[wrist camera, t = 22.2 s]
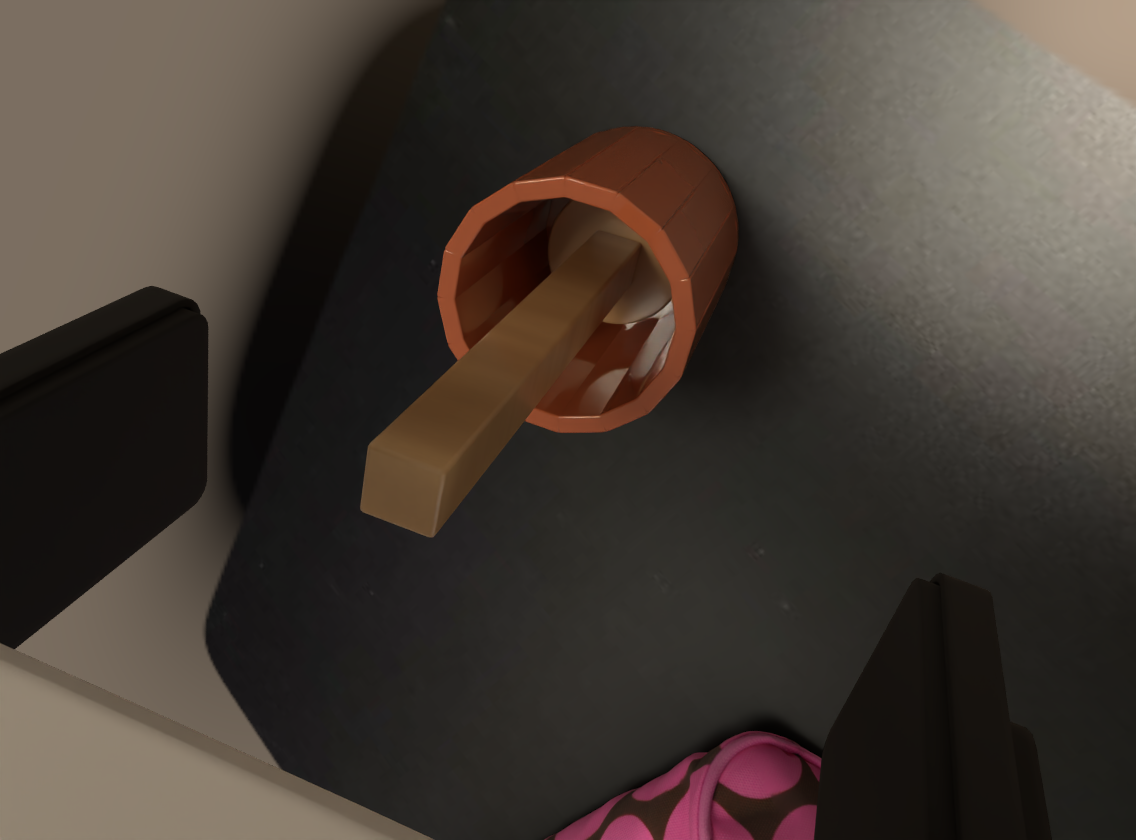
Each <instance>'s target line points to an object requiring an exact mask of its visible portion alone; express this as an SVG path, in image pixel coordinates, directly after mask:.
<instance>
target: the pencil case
mask: <svg viewBox="0 0 1136 840" xmlns="http://www.w3.org/2000/svg"><path fill="white" fill-rule="evenodd" d="M820 768H821V758H820V757H818V756H817V755H815V754H813V753H811V752H810V751H808V750H806V749H805V748H802V747H801V746H800V745H799V744H797V743H796V742H794V741H792V740H790V739H788V738H785V737H782V736H779V735H776V734H773V733H768V732H762V731H747V732H743V733H741V734H738V735H735V736H733V737H731V738H729V739H727V740H725V741H724V742H723V743H721V744H720V745H719V746H717V747H715V748H714V749H712V750H711V751H709V752H699V753H694V754H692V755H690V756H688V757H686V758H685V759H684V760H682V761H681V762H680V763H678V764H677V765H676V766H675V767H673V768H672V769H671V770H670V771H669V772H667V773H665V774H663V775H661V776H659V777H657V778H655V779H653V780H651V781H650V782H648V783H646V784H645V785H643V786H642V787H640V788H636V789H633V790H630V791H627V792H625V793H623V794H620V795H618V796H616V797H615V798H613V799H611V800H610V801H608V802H607V803H605V804H604V805H603V806H602V807H600V808H598V809H596V810H595V811H593V812H591V813H590V814H588V815H586V816H585V817H583V818H581V819H579V820H577V821H576V822H574V823H572V824H571V825H569V826H568V827H566V828H565V829H563V830H562V831H560V832H558V833H556V834H554V835H552V836H549V837H548V838H546V839H544V840H814V832H815V821H816V811H817V800H818V789H819V779H820Z"/></svg>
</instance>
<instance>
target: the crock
mask: <svg viewBox="0 0 1136 840" xmlns="http://www.w3.org/2000/svg"><path fill="white" fill-rule="evenodd" d="M571 199H572V200H575V201H578V202H581V203H585V204H588V205H591V206H594V207H597V208H601V209H604V210H607V211H610V212H611V213H612V214H614V215H615V216H616V217H617V218H619V219H620V220H621V221H622V222H623V223H625V224H626V225H627V226H628V227H630V228H631V229H632V230H633V231H634V232H636V233H637V234H638V235H639V236H641V237H642V238H643V239H644V240H645V241H647V243H648V244H649V246H650V248H651V250H652V252H653V253H654V255H655V257H656V259H657V261H658V262H659V264H660V266H661V268H662V270H663V271H664V273H665V275H666V277H667V279H668V280H669V282H670V287H671V296H672V300H671V301H670V302H669V303H668V304H667V305H666V306H665V307H664V308H663V309H662V310H661V311H659V312H658V313H657V314H655V315H653V316H652V317H650V318H647V319H645V320H643V321H639V322H635V323H630V324H612V323H606V322H601V324H600V325H599V326H598V327H597V329H596V330H595V331H594V332H593V334H592V335H591V336H590V338H589V339H588V340H587V341H586V343H585V344H584V345H583V347H582V348H581V349H580V350H579V352H578V353H577V354H576V356H575V357H574V358H573V359H572V361H571V362H570V363H569V364H568V366H567V367H566V368H565V370H564V371H563V372H562V373H561V375H560V376H559V377H558V379H557V380H556V381H555V382H554V384H553V385H552V386H551V388H550V389H549V390H548V391H547V393H546V394H545V395H544V396H543V398H542V399H541V400H540V402H539V403H538V404H537V405H536V407H535V408H534V409H533V411H532V412H531V413H530V414H529V416H528V417H527V418H526V420H525V421H526V422H529V423H532V424H535V425H538V426H540V427H543V428H546V429H549V430H552V431H554V432H559V433H583V432H605V431H610V430H612V429H615V428H617V427H619V426H621V425H624V424H626V423H628V422H631V421H633V420H635V419H638V418H640V417H642V416H645V415H647V414H648V413H649V412H651V411H652V410H653V409H654V408H655V407H656V406H657V404H658V403H659V402H660V401H661V400H662V399H663V398H664V397H665V396H666V395H667V394H668V392H669V391H670V390H671V389H672V388H673V387H674V386H675V385H676V384H677V383H678V381H679V380H680V379H681V377H682V375H683V373H684V371H685V369H686V367H687V365H688V363H689V361H690V359H691V357H692V355H693V352H694V350H695V348H696V346H697V344H698V342H699V340H700V338H701V336H702V334H703V332H704V330H705V328H706V325H707V323H708V321H709V319H710V317H711V315H712V313H713V311H714V309H715V307H716V305H717V303H718V301H719V299H720V296H721V294H722V292H723V290H724V288H725V286H726V283H727V280H728V277H729V274H730V271H731V269H732V267H733V264H734V260H735V256H736V253H737V248H738V237H739V236H738V219H737V212H736V207H735V204H734V201H733V197H732V195H731V192H730V190H729V188H728V186H727V183H726V182H725V180H724V178H723V177H722V175H721V173H720V172H719V170H718V169H717V168H716V167H715V165H714V164H713V163H712V162H711V161H710V159H708V158H707V157H706V156H705V155H704V154H703V153H702V152H701V151H700V150H699V149H697V148H696V147H695V146H693V145H692V144H690V143H689V142H687V141H686V140H684V139H682V138H680V137H678V136H676V135H674V134H671V133H668V132H666V131H663V130H659V129H654V128H650V127H638V126H630V127H619V128H614V129H609V130H606V131H603V132H598V133H595V134H593V135H591V136H589V137H588V138H586V139H584V140H583V141H581V142H579V143H578V144H576V145H574V146H572V147H571V148H569V149H567V150H566V151H564V152H562V153H561V154H559V155H557V156H555V157H554V158H552V159H550V160H549V161H547V162H545V163H544V164H542V165H540V166H538V167H537V168H535V169H533V170H532V171H530V172H528V173H527V174H525V175H523V176H521V177H520V178H518V179H516V180H515V181H513V182H511V183H510V184H508V185H506V186H505V187H503V188H502V189H500V190H498V191H497V192H495V193H494V194H492V195H490V196H489V197H487V198H485V199H484V200H482V201H481V202H479V203H477V204H476V205H474V206H473V207H472V208H471V209H470V210H469V211H468V213H467V214H466V216H465V217H464V219H463V220H462V222H461V224H460V225H459V227H458V228H457V230H456V231H455V233H454V234H453V236H452V238H451V239H450V241H449V242H448V244H447V245H446V248H445V250H444V255H443V262H442V268H441V274H440V281H439V287H438V294H437V295H438V303H439V307H440V312H441V316H442V321H443V325H444V330H445V334H446V338H447V342H448V344H449V347H450V349H451V350H452V352H453V354H454V355H455V357H456V358H457V360H460V359H461V358H462V357H463V356H464V355H465V354H466V353H467V352H468V351H469V350H470V349H471V348H472V347H473V346H474V345H476V344H477V343H478V342H479V341H480V340H481V339H482V338H483V337H484V336H485V335H486V334H487V333H488V332H489V331H490V330H492V329H493V328H494V327H495V326H496V325H497V324H498V323H499V322H500V321H501V320H502V319H503V318H504V317H505V316H506V315H508V314H509V313H510V312H511V311H512V310H513V309H514V308H515V307H516V306H517V305H518V304H519V303H520V302H521V301H523V300H524V299H525V298H526V297H527V296H528V295H529V294H530V293H531V292H532V291H533V290H534V289H535V288H536V287H537V286H539V285H540V284H541V283H542V282H543V281H544V280H545V279H546V278H547V277H548V276H549V275H550V274H551V270H550V266H549V261H548V240H549V235H550V231H551V228H552V225H553V223H554V221H555V219H556V217H557V216H558V214H559V212H560V211H561V210H562V209H563V207H564V206H565V205H566V204H567V203H568V202H569V201H570V200H571Z"/></svg>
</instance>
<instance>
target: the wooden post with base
mask: <svg viewBox="0 0 1136 840" xmlns="http://www.w3.org/2000/svg"><path fill="white" fill-rule="evenodd" d="M548 261H549V266H550V270H551V274H550V275H549V276H548V277H547V278H546V279H545V280H544V281H543V282H542V283H541V284H540V285H539V286H537V287H536V288H535V289H534V290H533V291H532V292H531V293H530V294H529V295H528V296H527V297H526V298H525V299H524V300H523V301H521V302H520V303H519V304H518V305H517V306H516V307H515V308H514V309H513V310H512V311H511V312H510V313H509V314H508V315H506V316H505V317H504V318H503V319H502V320H501V321H500V322H499V323H498V324H497V325H496V326H495V327H494V328H493V329H492V330H490V331H489V332H488V333H487V334H486V335H485V336H484V337H483V338H482V339H481V340H480V341H479V342H478V343H477V344H476V345H474V346H473V347H472V348H471V349H470V350H469V351H468V352H467V353H466V354H465V355H464V356H463V357H462V358H461V359H460V360H458V361H457V362H456V363H455V364H454V365H453V366H452V367H451V368H450V369H449V370H448V371H447V372H446V373H445V374H443V375H442V376H441V377H440V378H439V379H438V380H437V381H436V382H435V383H434V384H433V385H432V386H431V387H430V388H429V389H427V390H426V391H425V392H424V393H423V394H422V395H421V396H420V397H419V398H418V399H417V400H416V401H415V402H414V403H413V404H411V405H410V406H409V407H408V408H407V409H406V410H405V411H404V412H403V413H402V414H401V415H400V416H399V417H398V418H397V419H395V420H394V421H393V422H392V423H391V424H390V425H389V426H388V427H387V428H386V429H385V430H384V431H383V432H382V433H380V434H379V435H378V436H377V437H376V438H375V439H374V440H373V441H372V442H371V443H370V444H369V446H368V452H367V460H366V467H365V475H364V483H363V491H362V499H361V507H360V508H361V510H362V511H363V512H364V513H367V514H369V515H372V516H375V517H377V518H380V519H382V520H385V521H388V522H390V523H393V524H396V525H398V526H401V527H403V528H406V529H409V530H411V531H414V532H416V533H419V534H422V535H424V536H427V537H434V536H435V535H436V533H437V532H438V531H439V530H440V528H441V527H442V526H443V524H444V523H445V522H446V521H447V519H448V518H449V517H450V516H451V514H452V513H453V512H454V510H455V509H456V508H457V507H458V505H459V504H460V503H461V501H462V500H463V499H464V498H465V496H466V495H467V494H468V492H469V491H470V490H471V489H472V487H473V486H474V485H475V484H476V482H477V481H478V480H479V478H480V477H481V476H482V475H483V473H484V472H485V471H486V469H487V468H488V467H489V466H490V464H491V463H492V462H493V460H494V459H495V458H496V457H497V455H498V454H499V453H500V452H501V450H502V449H503V448H504V446H505V445H506V444H507V443H508V441H509V440H510V439H511V437H512V436H513V435H514V434H515V432H516V431H517V430H518V428H519V427H520V426H521V425H522V423H523V422H524V421H525V420H526V418H527V417H528V416H529V414H530V413H531V412H532V411H533V409H534V408H535V407H536V405H537V404H538V403H539V402H540V400H541V399H542V398H543V396H544V395H545V394H546V393H547V391H548V390H549V389H550V388H551V386H552V385H553V384H554V382H555V381H556V380H557V379H558V377H559V376H560V375H561V373H562V372H563V371H564V370H565V368H566V367H567V366H568V364H569V363H570V362H571V361H572V359H573V358H574V357H575V356H576V354H577V353H578V352H579V350H580V349H581V348H582V347H583V345H584V344H585V343H586V341H587V340H588V339H589V338H590V336H591V335H592V334H593V332H594V331H595V330H596V329H597V327H598V326H599V325H600V324H601V322H606V323H612V324H630V323H635V322H639V321H643V320H645V319H647V318H650V317H652V316H653V315H655V314H657V313H658V312H659V311H661V310H662V309H663V308H664V307H665V306H666V305H667V304H668V303H669V302H670V301H671V300H672V296H671V287H670V282H669V280H668V279H667V277H666V275H665V273H664V271H663V270H662V268H661V266H660V264H659V262H658V261H657V259H656V257H655V255H654V253H653V252H652V250H651V248H650V246H649V244H648V243H647V241H645V240H644V239H643V238H642V237H641V236H639V235H638V234H637V233H636V232H634V231H633V230H632V229H631V228H630V227H628V226H627V225H626V224H625V223H623V222H622V221H621V220H620V219H619V218H617V217H616V216H615V215H614V214H612V213H611V212H610V211H607V210H604V209H601V208H597V207H594V206H591V205H588V204H585V203H581V202H578V201H575V200H572V199H571V200H570V201H569V202H568V203H567V204H566V205H565V206H564V207H563V209H562V210H561V211H560V212H559V214H558V216H557V217H556V219H555V221H554V223H553V225H552V228H551V231H550V235H549V240H548Z"/></svg>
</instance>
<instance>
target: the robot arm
mask: <svg viewBox="0 0 1136 840" xmlns="http://www.w3.org/2000/svg"><path fill="white" fill-rule="evenodd" d="M207 417H208V322H207V320H206V318H205V317H204V316H203V315H201V314H200V309H199V307H198V305H197V303H196V302H194V301H193V300H192V299H189V298H186V297H183V296H181V295H178V294H175V293H172V292H170V291H167V290H164V289H161V288H159V287H154V286H149V287H145V288H143V289H140V290H138V291H136V292H134V293H132V294H130V295H128V296H125V297H123V298H121V299H119V300H117V301H114V302H112V303H110V304H108V305H106V306H104V307H101V308H99V309H97V310H95V311H93V312H90V313H88V314H86V315H84V316H82V317H80V318H78V319H75V320H73V321H71V322H69V323H67V324H64V325H62V326H60V327H58V328H56V329H53V330H51V331H49V332H47V333H45V334H43V335H40V336H38V337H36V338H34V339H32V340H30V341H27V342H26V343H23V344H21V345H19V346H17V347H14V348H12V349H10V350H8V351H6V352H3V353H1V354H0V840H434V839H432V838H430V837H428V836H425V835H423V834H421V833H419V832H417V831H414V830H412V829H410V828H408V827H406V826H404V825H401V824H399V823H397V822H395V821H393V820H391V819H388V818H386V817H384V816H382V815H380V814H378V813H375V812H373V811H371V810H369V809H367V808H364V807H362V806H360V805H358V804H356V803H354V802H351V801H349V800H347V799H345V798H343V797H340V796H338V795H336V794H334V793H331V792H329V791H327V790H325V789H323V788H320V787H318V786H316V785H314V784H312V783H309V782H307V781H305V780H303V779H301V778H298V777H296V776H294V775H292V774H290V773H287V772H285V771H283V770H281V769H279V768H276V767H274V766H272V765H270V764H268V763H265V762H263V761H261V760H259V759H257V758H254V757H252V756H250V755H248V754H246V753H243V752H241V751H239V750H237V749H234V748H232V747H230V746H228V745H226V744H224V743H221V742H219V741H217V740H215V739H213V738H210V737H208V736H206V735H204V734H201V733H199V732H197V731H195V730H193V729H190V728H188V727H186V726H184V725H181V724H179V723H177V722H175V721H173V720H170V719H168V718H166V717H164V716H162V715H159V714H157V713H155V712H153V711H150V710H148V709H146V708H144V707H142V706H140V705H137V704H135V703H133V702H130V701H128V700H126V699H124V698H122V697H120V696H117V695H115V694H113V693H111V692H108V691H106V690H104V689H102V688H99V687H97V686H95V685H93V684H90V683H88V682H86V681H84V680H82V679H79V678H77V677H75V676H72V675H70V674H68V673H66V672H64V671H61V670H59V669H57V668H55V667H52V666H50V665H48V664H46V663H43V662H41V661H39V660H37V659H34V658H32V657H30V656H27V655H25V654H23V653H21V652H19V651H16V650H14V649H15V648H17V647H18V646H19V645H21V644H22V643H23V642H24V641H25V640H27V639H28V638H29V637H30V636H32V635H33V634H34V633H35V632H37V631H38V630H39V629H40V628H42V627H43V626H44V625H45V624H47V623H48V622H49V621H50V620H51V619H53V618H54V617H55V616H57V615H58V614H59V613H60V612H62V611H63V610H64V609H65V608H67V607H68V606H69V605H70V604H72V603H73V602H74V601H75V600H77V599H78V598H79V597H80V596H82V595H83V594H84V593H85V592H87V591H88V590H89V589H90V588H92V587H93V586H94V585H95V584H96V583H98V582H99V581H100V580H102V579H103V578H104V577H105V576H107V575H108V574H109V573H110V572H112V571H113V570H114V569H115V568H117V567H118V566H119V565H120V564H122V563H123V562H124V561H125V560H127V559H128V558H129V557H130V556H132V555H133V554H134V553H135V552H137V551H138V550H139V549H140V548H142V547H143V546H144V545H145V544H147V543H148V542H149V541H150V540H152V539H153V538H154V537H155V536H157V535H158V534H159V533H160V532H161V531H163V530H164V529H165V528H167V527H168V526H169V525H170V524H172V523H173V522H174V521H175V520H176V519H178V518H179V517H180V516H181V515H183V514H184V513H185V512H186V511H188V510H189V509H190V508H191V507H193V506H194V505H195V504H196V503H197V502H198V500H199V499H200V497H201V496H202V494H203V492H204V490H205V486H206V482H207V422H208V421H207V419H208V418H207ZM814 840H1052V837H1051V831H1050V825H1049V819H1048V813H1047V808H1046V802H1045V796H1044V790H1043V784H1042V778H1041V772H1040V766H1039V761H1038V755H1037V749H1036V745H1035V742H1034V738H1033V735H1032V734H1031V733H1030V732H1029V730H1028V729H1027V728H1025V727H1022V726H1020V725H1017V724H1015V723H1012V722H1010V719H1009V712H1008V705H1007V698H1006V691H1005V684H1004V677H1003V670H1002V663H1001V656H1000V648H999V641H998V634H997V627H996V620H995V613H994V606H993V599H992V596H991V592H989V591H988V590H986V589H983V588H981V587H978V586H975V585H972V584H970V583H967V582H964V581H961V580H959V579H956V578H953V577H950V576H948V575H945V574H942V573H938V574H936V575H935V576H934V577H933V578H932V580H931V581H930V582H928V581H925V580H922V579H919V578H916V579H915V580H914V581H913V582H912V583H911V585H910V586H909V588H908V590H907V592H906V593H905V595H904V597H903V599H902V601H901V603H900V604H899V606H898V608H897V610H896V612H895V614H894V615H893V617H892V619H891V621H890V623H889V624H888V626H887V628H886V630H885V632H884V634H883V635H882V637H881V639H880V641H879V643H878V644H877V646H876V648H875V650H874V652H873V654H872V655H871V657H870V659H869V661H868V663H867V664H866V666H865V668H864V670H863V672H862V674H861V675H860V677H859V679H858V681H857V683H856V684H855V686H854V688H853V690H852V692H851V694H850V695H849V697H848V699H847V701H846V703H845V704H844V706H843V708H842V710H841V712H840V714H839V715H838V717H837V719H836V721H835V723H834V724H833V726H832V728H831V730H830V732H829V734H828V737H827V740H826V743H825V746H824V749H823V754H822V759H821V768H820V779H819V789H818V800H817V811H816V821H815V832H814Z"/></svg>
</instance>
